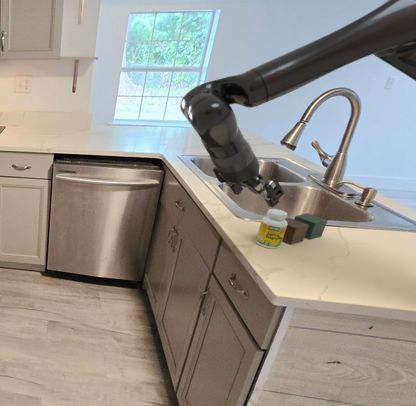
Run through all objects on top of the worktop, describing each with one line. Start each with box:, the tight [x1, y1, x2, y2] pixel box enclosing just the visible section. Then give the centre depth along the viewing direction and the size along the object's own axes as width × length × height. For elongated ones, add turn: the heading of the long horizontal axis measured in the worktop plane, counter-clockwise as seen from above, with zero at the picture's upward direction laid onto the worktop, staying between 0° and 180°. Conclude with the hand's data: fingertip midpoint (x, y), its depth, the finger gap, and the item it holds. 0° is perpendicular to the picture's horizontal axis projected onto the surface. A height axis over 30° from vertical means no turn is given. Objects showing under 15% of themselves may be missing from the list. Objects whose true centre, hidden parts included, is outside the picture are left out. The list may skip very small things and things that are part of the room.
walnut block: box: [282, 217, 309, 246], centre depth 99 cm, size 5×5×5 cm
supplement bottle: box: [255, 208, 288, 250], centre depth 96 cm, size 5×5×10 cm
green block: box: [293, 212, 329, 240], centre depth 101 cm, size 5×5×5 cm
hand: (255, 197), depth 89 cm, fingers open, 8 cm apart
